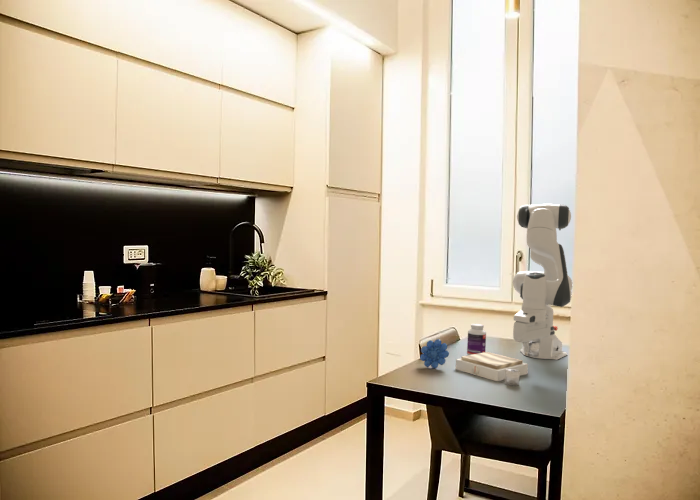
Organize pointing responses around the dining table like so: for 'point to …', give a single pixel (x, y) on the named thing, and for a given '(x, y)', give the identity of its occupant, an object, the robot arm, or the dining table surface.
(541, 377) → the dining table surface
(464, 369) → the base
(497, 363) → the pan
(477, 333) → the pill bottle
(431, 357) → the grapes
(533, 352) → the block
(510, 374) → the block
